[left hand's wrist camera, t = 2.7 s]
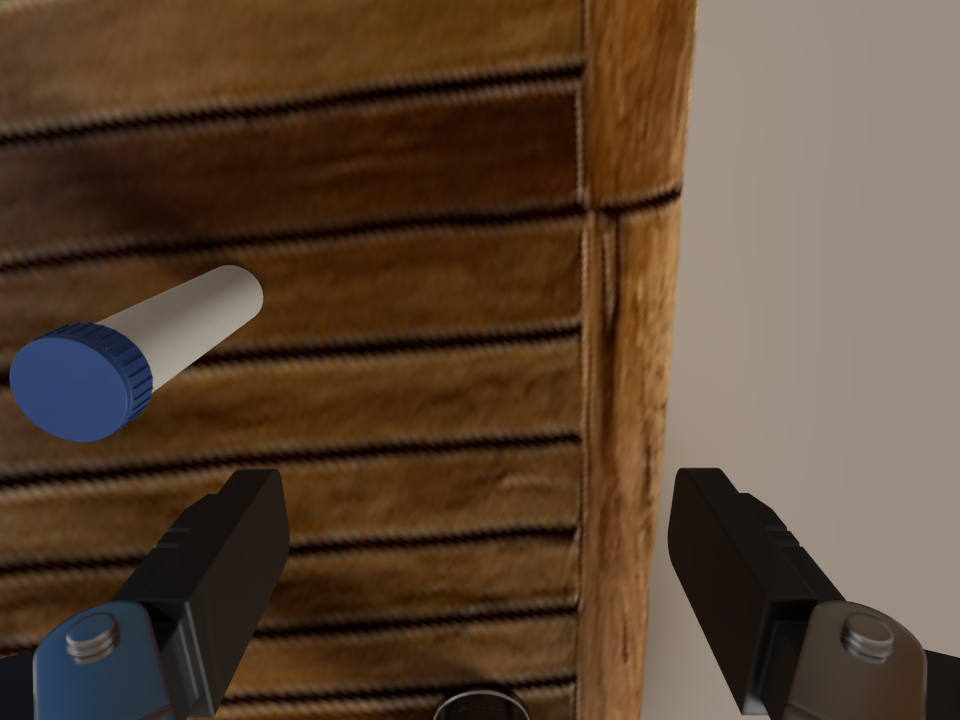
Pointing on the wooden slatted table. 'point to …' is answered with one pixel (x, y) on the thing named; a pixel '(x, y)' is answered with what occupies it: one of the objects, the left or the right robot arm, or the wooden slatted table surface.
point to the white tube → (189, 319)
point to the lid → (81, 381)
